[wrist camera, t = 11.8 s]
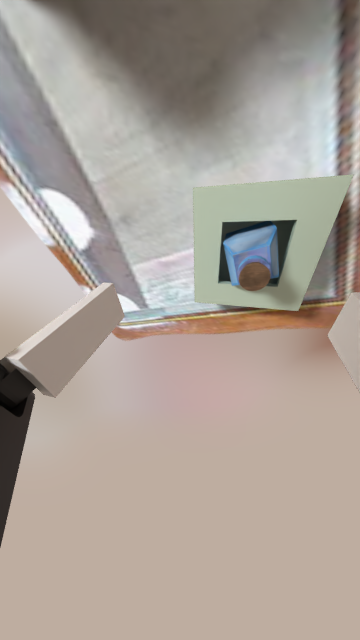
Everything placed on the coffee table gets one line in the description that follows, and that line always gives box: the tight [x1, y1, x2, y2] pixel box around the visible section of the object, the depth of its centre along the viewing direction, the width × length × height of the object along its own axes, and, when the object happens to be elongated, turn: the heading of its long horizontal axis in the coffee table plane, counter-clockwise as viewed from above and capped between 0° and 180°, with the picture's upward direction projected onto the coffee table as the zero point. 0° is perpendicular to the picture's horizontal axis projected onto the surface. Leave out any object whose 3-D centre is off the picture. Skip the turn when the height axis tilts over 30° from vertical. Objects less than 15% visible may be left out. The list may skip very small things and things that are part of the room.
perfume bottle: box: [223, 221, 279, 291], centre depth 23 cm, size 6×6×12 cm
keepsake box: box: [193, 175, 353, 311], centre depth 26 cm, size 16×16×6 cm
